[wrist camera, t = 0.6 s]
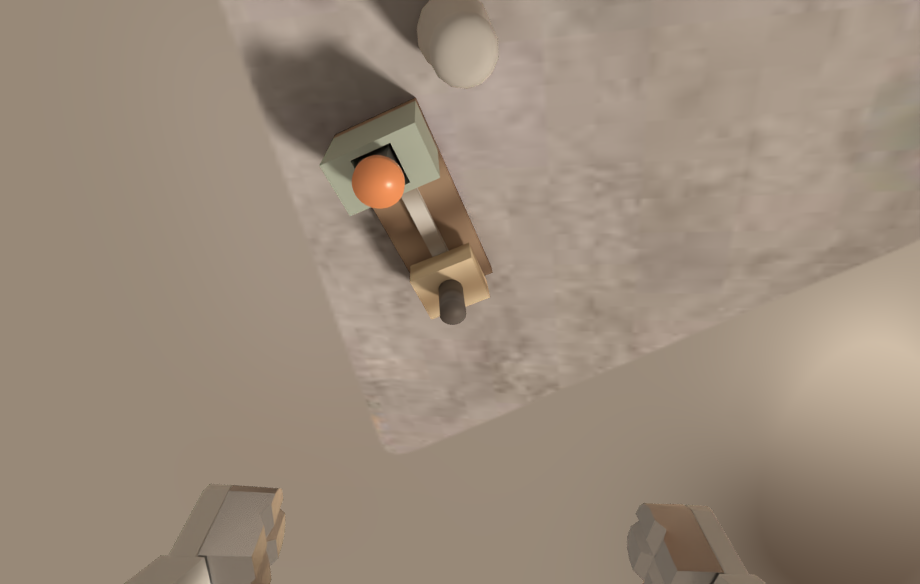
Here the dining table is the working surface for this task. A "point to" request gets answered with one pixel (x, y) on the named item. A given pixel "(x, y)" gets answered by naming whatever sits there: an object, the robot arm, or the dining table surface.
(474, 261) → the carriage
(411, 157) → the end cabinet
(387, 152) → the button
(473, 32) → the salt shaker
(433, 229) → the rail bed
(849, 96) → the dining table surface
